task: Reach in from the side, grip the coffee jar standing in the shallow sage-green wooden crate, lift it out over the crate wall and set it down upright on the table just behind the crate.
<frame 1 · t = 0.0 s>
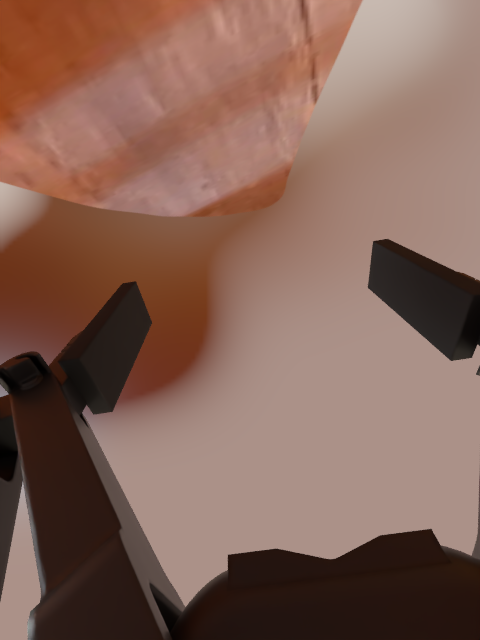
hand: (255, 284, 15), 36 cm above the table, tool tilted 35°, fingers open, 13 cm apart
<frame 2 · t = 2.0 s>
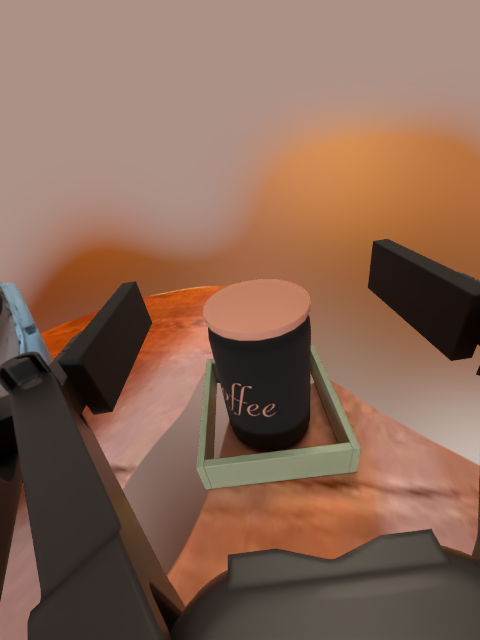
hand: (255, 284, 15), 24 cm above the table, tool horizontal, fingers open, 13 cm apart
crate: (269, 416, 35), on the table
coffee jar: (269, 417, 36), resting in crate
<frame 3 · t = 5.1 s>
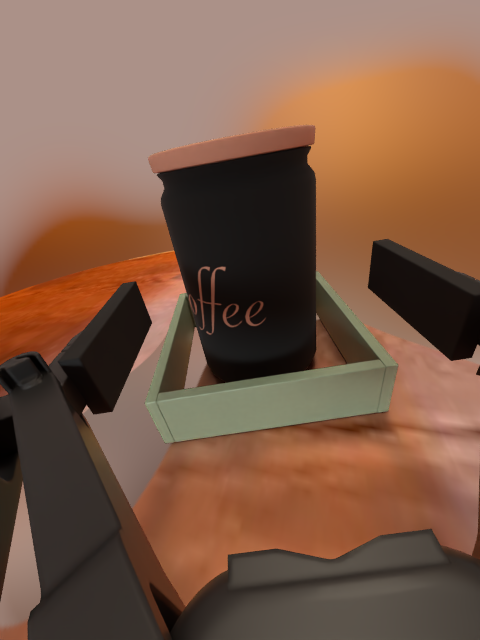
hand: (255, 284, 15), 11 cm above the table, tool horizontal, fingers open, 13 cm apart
crate: (261, 356, 26), on the table
coffee jar: (261, 357, 26), resting in crate
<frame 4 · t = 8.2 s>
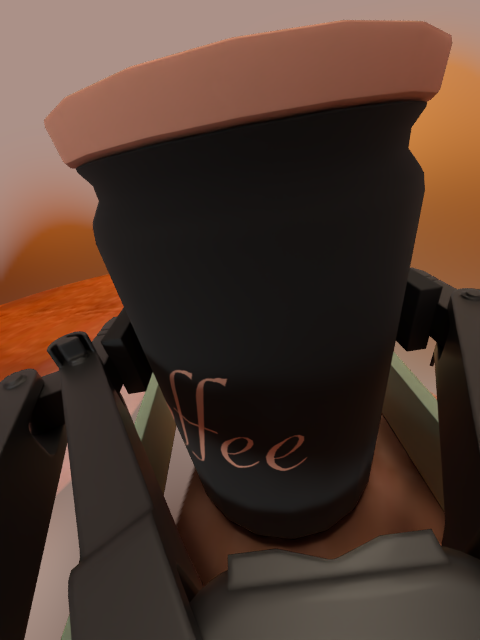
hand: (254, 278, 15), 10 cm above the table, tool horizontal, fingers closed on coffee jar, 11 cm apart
crate: (279, 447, 17), on the table
coffee jar: (280, 449, 17), resting in crate, touching gripper
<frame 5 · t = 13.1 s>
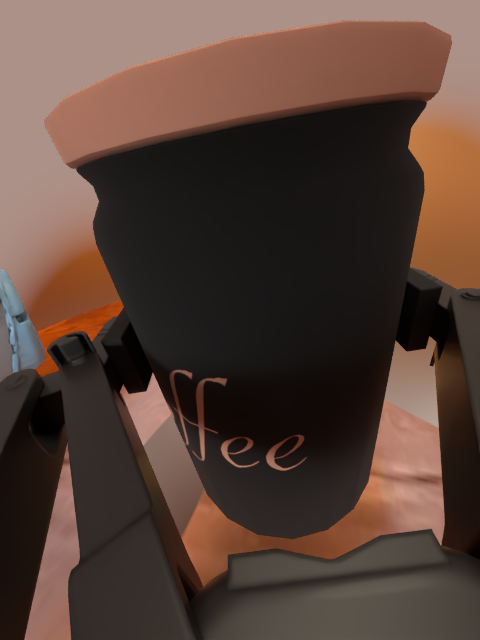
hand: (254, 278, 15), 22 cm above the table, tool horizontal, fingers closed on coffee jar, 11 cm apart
coffee jar: (280, 449, 17), point 11 cm above the table, touching gripper
when the fingers open (10 cm above the table, at t = 18.1 s): coffee jar stays where it is, on the table.
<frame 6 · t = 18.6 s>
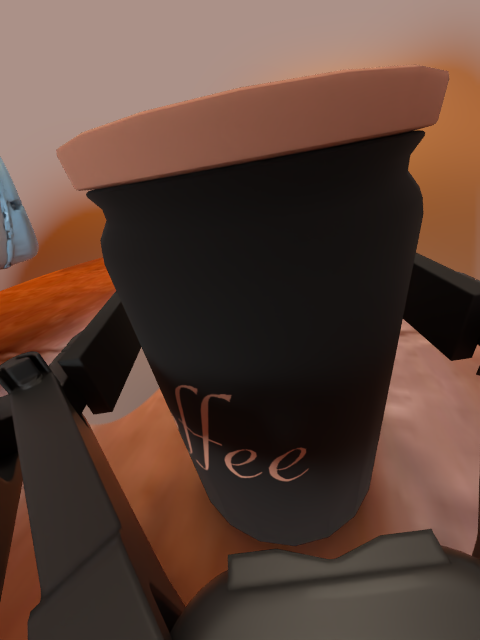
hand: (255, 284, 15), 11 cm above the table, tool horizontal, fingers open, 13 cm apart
coffee jar: (281, 455, 18), on the table
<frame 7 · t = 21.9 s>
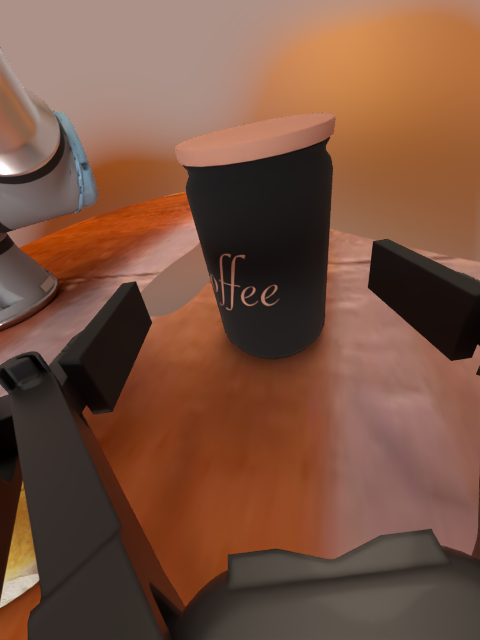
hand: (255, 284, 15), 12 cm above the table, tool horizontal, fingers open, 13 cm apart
bread roll: (27, 524, 18), on the table
coffee jar: (273, 327, 29), on the table
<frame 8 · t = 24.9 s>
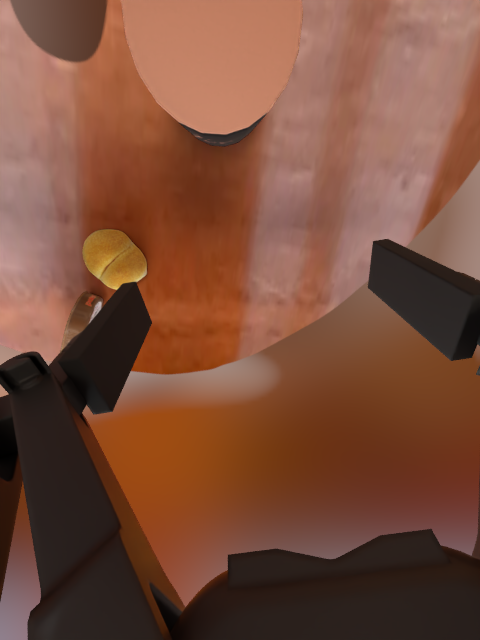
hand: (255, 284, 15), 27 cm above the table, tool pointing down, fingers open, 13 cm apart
bread roll: (119, 258, 40), on the table
coffee jar: (219, 93, 31), on the table
tin: (92, 321, 46), on the table
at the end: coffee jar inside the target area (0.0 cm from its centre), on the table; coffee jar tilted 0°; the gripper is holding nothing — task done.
